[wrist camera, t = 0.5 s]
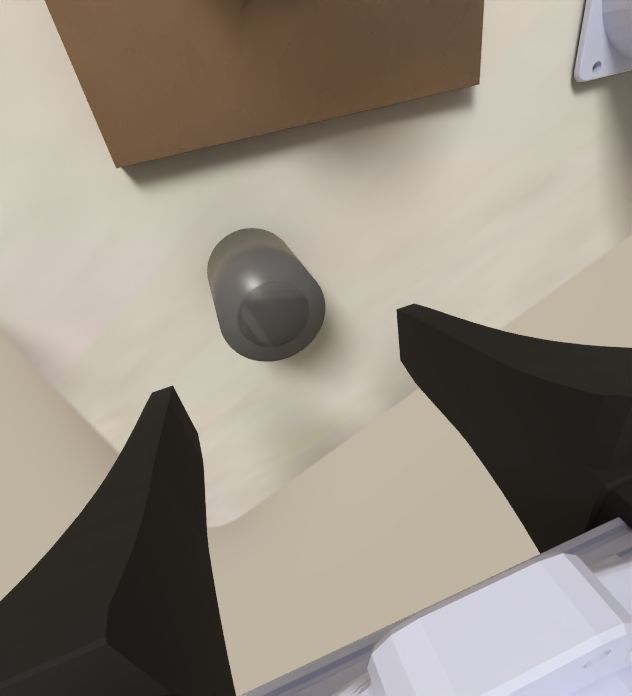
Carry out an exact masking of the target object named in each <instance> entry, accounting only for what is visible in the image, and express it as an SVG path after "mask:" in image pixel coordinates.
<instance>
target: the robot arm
mask: <svg viewBox="0 0 632 696" xmlns="http://www.w3.org/2000/svg"><path fill="white" fill-rule="evenodd" d="M593 66H594V70H593V71H592V69H593ZM631 70H632V0H586V6H585V12H584V18H583V23H582V29H581V35H580V41H579V47H578V53H577V58H576V64H575V70H574V78H575V80H576V81H577V82H586V81H590V80H594V79H599V78H603V77H607V76H611V75H615V74H619V73H623V72H627V71H631ZM397 322H398V335H399V348H400V360H401V362H402V363H403V365H404V366H405V368H406V369H407V371H408V373H409V374H410V376H411V377H412V378H413V380H414V381H415V383H416V384H417V385H418V386H419V388H420V389H421V390H422V391H423V392H424V393H425V394H426V395H427V397H428V398H429V399H430V400H431V401H432V402H433V403H434V404H435V406H437V408H438V409H439V410H440V411H441V412H442V413H443V414H444V415H445V416H446V418H447V419H448V420H449V421H450V422H451V423H452V424H453V426H454V427H455V428H456V429H457V430H458V431H459V432H460V434H461V435H462V436H463V437H464V439H465V440H466V441H467V442H468V444H469V445H470V446H471V447H472V449H473V451H474V452H475V453H476V455H477V456H478V458H479V459H480V460H481V462H482V463H483V465H484V466H485V467H486V469H487V470H488V472H489V473H490V475H491V476H492V478H493V479H494V481H495V482H496V484H497V485H498V486H499V488H500V489H501V491H502V492H503V494H504V496H505V497H506V499H507V500H508V502H509V503H510V505H511V507H512V508H513V510H514V511H515V513H516V514H517V516H518V517H519V519H520V521H521V522H522V524H523V525H524V527H525V529H526V530H527V532H528V534H529V536H530V537H531V539H532V541H533V542H534V543H535V546H536V547H537V549H538V551H539V552H540V554H539V555H537V556H535V557H533V558H531V559H529V560H527V561H524V562H522V563H520V564H518V565H516V566H514V567H512V568H509V569H507V570H505V571H503V572H501V573H499V574H497V575H495V576H493V577H490V578H488V579H486V580H484V581H482V582H480V583H478V584H476V585H473V586H472V587H469V588H467V589H465V590H463V591H461V592H459V593H457V594H454V595H452V596H450V597H448V598H446V599H444V600H442V601H440V602H437V603H435V604H433V605H432V606H429V607H427V608H425V609H423V610H421V611H418V612H416V613H414V614H412V615H410V616H408V617H406V618H404V619H401V620H399V621H397V622H395V623H393V624H391V625H389V626H387V627H385V628H382V629H380V630H378V631H376V632H374V633H372V634H370V635H368V636H365V637H363V638H361V639H359V640H357V641H355V642H353V643H351V644H349V645H346V646H344V647H342V648H340V649H338V650H336V651H334V652H332V653H330V654H327V655H325V656H323V657H321V658H319V659H317V660H315V661H313V662H311V663H308V664H306V665H304V666H302V667H300V668H298V669H296V670H293V671H291V672H289V673H287V674H285V675H283V676H281V677H279V678H277V679H275V680H272V681H270V682H268V683H266V684H264V685H262V686H260V687H257V688H255V689H253V690H251V691H249V692H247V693H245V694H243V695H241V696H632V348H622V347H605V346H591V345H581V344H572V343H564V342H557V341H550V340H543V339H538V338H533V337H528V336H523V335H518V334H514V333H509V332H505V331H501V330H498V329H494V328H490V327H486V326H483V325H480V324H476V323H473V322H470V321H467V320H464V319H460V318H457V317H454V316H451V315H448V314H446V313H443V312H440V311H437V310H434V309H431V308H427V307H424V306H421V305H417V304H411V305H408V306H406V307H403V308H400V309H397ZM0 696H236V694H235V689H234V685H233V679H232V675H231V670H230V665H229V660H228V656H227V650H226V645H225V640H224V635H223V630H222V624H221V619H220V614H219V608H218V602H217V597H216V591H215V585H214V579H213V573H212V567H211V560H210V554H209V548H208V538H207V524H206V503H205V483H204V466H203V458H202V453H201V447H200V442H199V437H198V433H197V431H196V429H195V427H194V425H193V423H192V421H191V420H190V418H189V416H188V414H187V412H186V410H185V408H184V406H183V404H182V402H181V400H180V398H179V397H178V395H177V393H176V391H175V389H174V387H173V386H170V387H167V388H165V389H162V390H159V391H156V392H153V393H152V394H151V396H150V398H149V399H148V401H147V403H146V405H145V407H144V409H143V411H142V413H141V415H140V417H139V419H138V421H137V423H136V425H135V427H134V429H133V431H132V433H131V435H130V437H129V439H128V441H127V442H126V444H125V446H124V448H123V450H122V452H121V453H120V455H119V457H118V458H117V460H116V462H115V463H114V465H113V467H112V468H111V470H110V472H109V473H108V475H107V476H106V478H105V480H104V481H103V483H102V484H101V485H100V487H99V488H98V490H97V491H96V493H95V494H94V495H93V497H92V498H91V500H90V501H89V502H88V504H87V505H86V506H85V508H84V509H83V510H82V512H81V513H80V514H79V516H78V517H77V518H76V519H75V520H74V522H73V523H72V524H71V525H70V526H69V528H68V529H67V530H66V531H65V533H64V534H63V535H62V536H61V537H60V538H59V540H58V541H57V542H56V543H55V544H54V546H53V547H52V548H51V549H50V550H49V552H47V554H46V555H45V556H44V557H43V558H42V559H41V560H40V561H39V562H38V563H37V565H35V567H34V568H33V569H32V570H31V571H30V572H29V573H28V574H27V575H26V576H25V577H24V578H23V579H22V580H21V581H20V582H19V583H18V584H17V585H16V586H15V587H14V588H13V589H12V590H11V591H10V592H9V593H8V594H7V595H6V596H5V597H4V598H3V599H2V600H1V601H0Z"/></svg>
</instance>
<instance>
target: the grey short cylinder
mask: <svg viewBox="0 0 632 696" xmlns="http://www.w3.org/2000/svg"><path fill="white" fill-rule="evenodd" d="M207 274H208V280H209V285H210V289H211V293H212V297H213V301H214V305H215V309H216V313H217V317H218V321H219V325H220V329H221V332H222V335H223V337H224V339H225V340H226V342H227V343H228V344H229V346H230V347H231V348H232V349H233V350H235V351H236V352H237V353H239V354H240V355H242V356H244V357H246V358H249V359H252V360H257V361H277V360H282V359H285V358H288V357H290V356H293V355H295V354H296V353H298V352H300V351H301V350H303V349H304V348H305V347H306V346H308V345H309V344H310V343H311V342H312V340H313V339H314V338H315V337H316V335H317V334H318V332H319V330H320V328H321V326H322V323H323V320H324V315H325V300H324V296H323V293H322V290H321V288H320V286H319V285H318V283H317V282H316V281H315V279H314V278H313V277H312V276H311V275H310V273H309V272H308V271H307V270H306V269H305V267H304V266H303V265H302V264H301V262H300V261H299V260H298V259H297V258H296V256H295V255H294V254H293V253H292V251H291V250H290V249H289V248H288V247H287V245H286V244H285V243H284V242H283V241H282V240H281V239H280V238H279V237H278V236H276V235H275V234H273V233H271V232H269V231H266V230H262V229H255V228H249V229H242V230H238V231H235V232H233V233H231V234H229V235H228V236H226V237H225V238H223V239H222V240H221V241H220V242H219V243H218V244H217V245H216V247H215V248H214V250H213V251H212V254H211V256H210V258H209V262H208V268H207Z"/></svg>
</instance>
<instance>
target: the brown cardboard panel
mask: <svg viewBox="0 0 632 696" xmlns="http://www.w3.org/2000/svg"><path fill="white" fill-rule="evenodd" d="M45 2H46V5H47V7H48V9H49V12H50V14H51V16H52V19H53V21H54V23H55V26H56V28H57V30H58V33H59V35H60V37H61V40H62V42H63V44H64V47H65V49H66V51H67V54H68V56H69V58H70V61H71V63H72V65H73V68H74V70H75V72H76V75H77V77H78V80H79V82H80V84H81V87H82V89H83V91H84V94H85V96H86V98H87V101H88V103H89V105H90V108H91V110H92V112H93V115H94V117H95V119H96V122H97V124H98V126H99V129H100V131H101V133H102V136H103V138H104V140H105V143H106V145H107V147H108V150H109V152H110V154H111V157H112V159H113V162H114V164H115V166H116V168H120V167H124V166H128V165H133V164H137V163H141V162H146V161H150V160H154V159H158V158H163V157H167V156H171V155H176V154H180V153H184V152H189V151H193V150H197V149H202V148H206V147H210V146H215V145H219V144H223V143H227V142H232V141H236V140H240V139H245V138H249V137H253V136H258V135H262V134H266V133H271V132H275V131H279V130H283V129H288V128H292V127H296V126H301V125H305V124H309V123H314V122H318V121H322V120H327V119H331V118H335V117H340V116H344V115H348V114H352V113H357V112H361V111H365V110H370V109H374V108H378V107H383V106H387V105H391V104H396V103H400V102H404V101H408V100H413V99H417V98H421V97H426V96H430V95H434V94H439V93H443V92H447V91H452V90H456V89H460V88H464V87H469V86H473V85H477V84H479V79H480V62H481V45H482V27H483V10H484V0H45Z"/></svg>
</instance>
